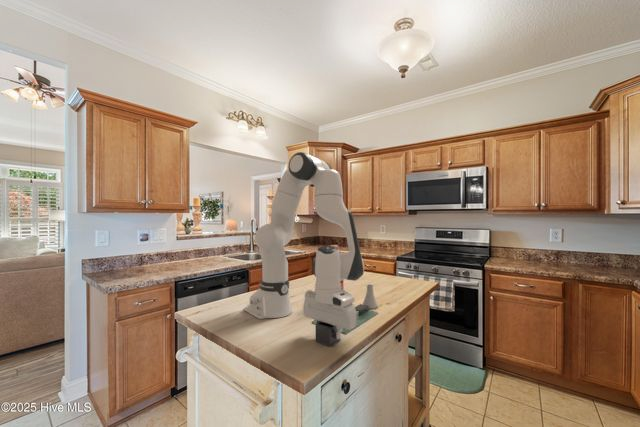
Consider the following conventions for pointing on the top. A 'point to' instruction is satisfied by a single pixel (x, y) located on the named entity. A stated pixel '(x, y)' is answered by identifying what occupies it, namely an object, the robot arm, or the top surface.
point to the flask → (370, 298)
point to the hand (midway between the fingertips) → (328, 335)
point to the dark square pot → (326, 334)
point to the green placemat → (360, 316)
